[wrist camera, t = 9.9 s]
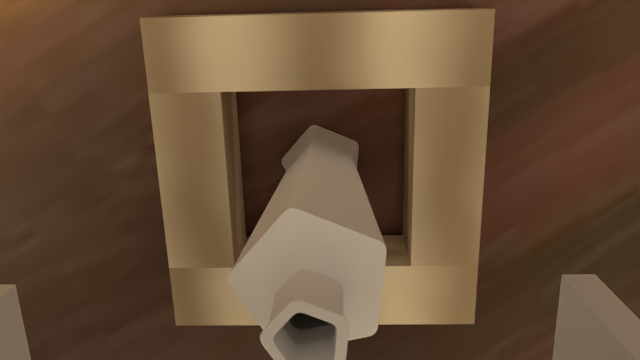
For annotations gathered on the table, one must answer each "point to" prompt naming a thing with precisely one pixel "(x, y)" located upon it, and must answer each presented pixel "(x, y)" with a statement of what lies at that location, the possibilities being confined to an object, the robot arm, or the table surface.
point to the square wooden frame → (323, 74)
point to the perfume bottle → (314, 255)
